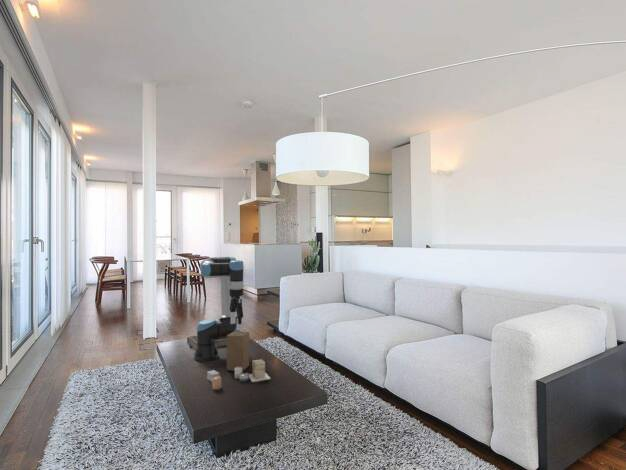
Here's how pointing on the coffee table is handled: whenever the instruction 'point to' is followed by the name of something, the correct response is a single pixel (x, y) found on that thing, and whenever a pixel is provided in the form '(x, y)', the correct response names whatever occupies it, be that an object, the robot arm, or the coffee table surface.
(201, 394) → the coffee table surface
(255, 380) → the coaster
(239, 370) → the grey rounded cylinder
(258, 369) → the maple block
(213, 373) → the grey box
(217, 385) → the peach capsule
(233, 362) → the wooden block
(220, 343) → the book
